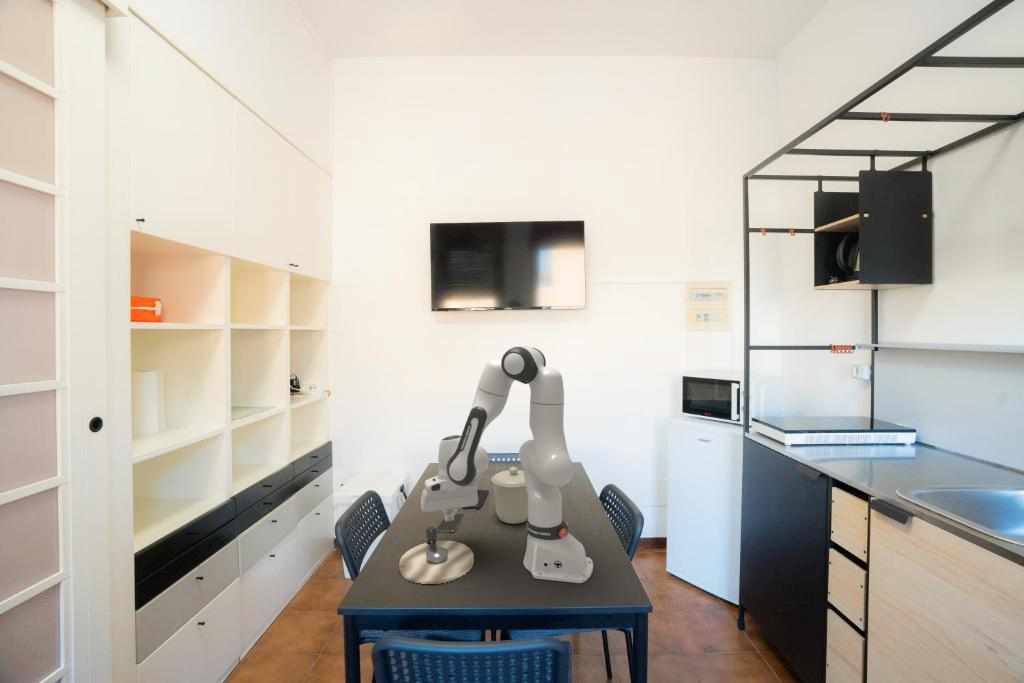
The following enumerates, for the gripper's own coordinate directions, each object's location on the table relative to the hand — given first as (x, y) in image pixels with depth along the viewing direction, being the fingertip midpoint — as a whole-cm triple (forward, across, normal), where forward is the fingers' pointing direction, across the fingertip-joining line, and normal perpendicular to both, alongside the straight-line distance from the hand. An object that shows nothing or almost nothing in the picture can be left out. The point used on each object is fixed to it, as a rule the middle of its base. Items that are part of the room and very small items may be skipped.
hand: (449, 520), depth 147 cm
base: (+9, +6, +9) cm, 15 cm away
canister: (+8, -30, -11) cm, 33 cm away
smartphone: (+10, -5, -18) cm, 21 cm away
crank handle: (+7, +6, +6) cm, 11 cm away
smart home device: (+9, -21, -35) cm, 42 cm away
